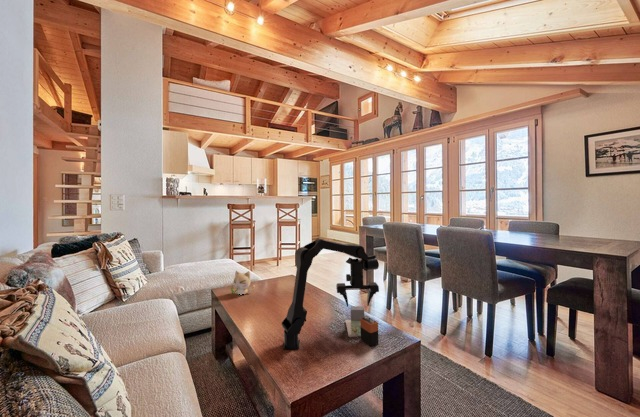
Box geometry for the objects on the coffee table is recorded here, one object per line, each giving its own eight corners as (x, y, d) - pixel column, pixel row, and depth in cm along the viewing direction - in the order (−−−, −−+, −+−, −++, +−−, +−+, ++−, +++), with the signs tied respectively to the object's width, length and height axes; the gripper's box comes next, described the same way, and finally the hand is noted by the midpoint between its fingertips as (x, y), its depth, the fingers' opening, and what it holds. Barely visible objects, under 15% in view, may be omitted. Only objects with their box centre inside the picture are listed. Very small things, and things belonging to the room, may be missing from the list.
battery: (368, 337, 114) (367, 314, 114) (379, 344, 108) (378, 320, 108) (360, 339, 112) (359, 316, 112) (370, 347, 106) (370, 322, 106)
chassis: (371, 336, 115) (371, 328, 115) (348, 336, 115) (348, 328, 115) (366, 321, 129) (366, 314, 129) (345, 322, 129) (345, 314, 129)
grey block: (364, 327, 115) (364, 313, 115) (350, 327, 116) (350, 313, 116) (364, 315, 127) (363, 303, 127) (351, 315, 128) (351, 302, 128)
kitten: (226, 296, 169) (226, 272, 169) (236, 290, 179) (235, 268, 179) (247, 297, 165) (246, 273, 165) (256, 292, 175) (255, 269, 174)
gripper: (373, 267, 129) (374, 299, 130) (335, 268, 129) (336, 300, 130) (378, 273, 118) (379, 308, 119) (336, 274, 118) (337, 309, 119)
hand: (357, 306), depth 122 cm, fingers open, 9 cm apart
